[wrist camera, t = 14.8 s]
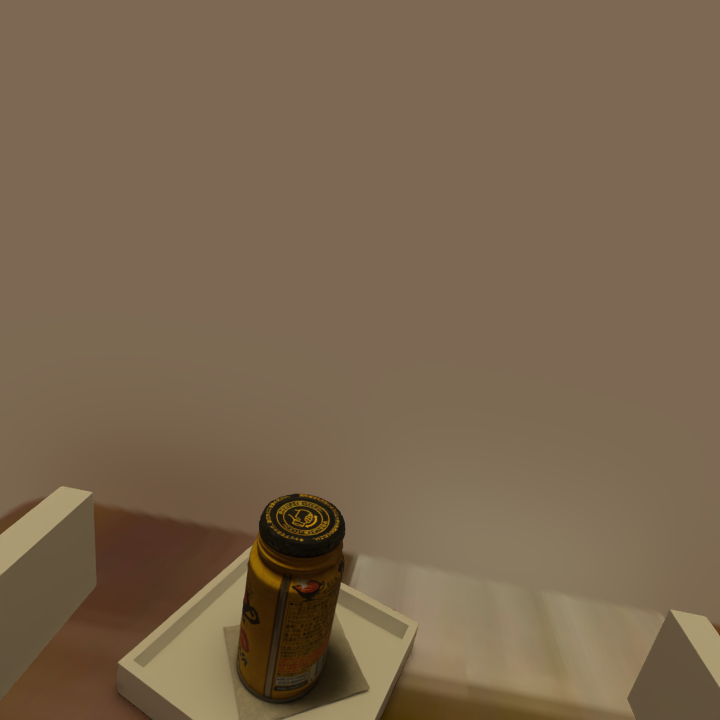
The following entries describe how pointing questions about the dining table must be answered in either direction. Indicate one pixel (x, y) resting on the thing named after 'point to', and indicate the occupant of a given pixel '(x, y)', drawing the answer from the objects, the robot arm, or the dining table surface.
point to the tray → (212, 667)
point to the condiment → (293, 614)
